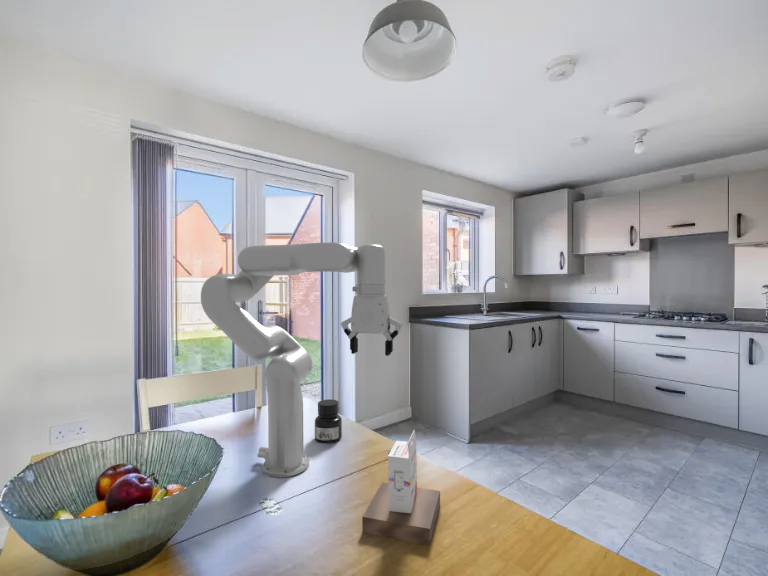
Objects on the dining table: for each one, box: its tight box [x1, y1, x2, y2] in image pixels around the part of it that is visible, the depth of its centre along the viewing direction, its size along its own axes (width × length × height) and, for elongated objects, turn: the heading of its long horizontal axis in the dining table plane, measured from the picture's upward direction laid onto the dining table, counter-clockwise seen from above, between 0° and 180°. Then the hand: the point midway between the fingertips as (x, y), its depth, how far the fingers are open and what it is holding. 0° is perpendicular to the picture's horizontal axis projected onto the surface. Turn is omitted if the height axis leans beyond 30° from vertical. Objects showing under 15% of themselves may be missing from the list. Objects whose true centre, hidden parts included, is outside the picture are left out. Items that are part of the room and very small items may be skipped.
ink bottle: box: [314, 399, 343, 444], centre depth 124 cm, size 10×9×12 cm
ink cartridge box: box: [387, 429, 418, 513], centre depth 82 cm, size 9×5×15 cm, turn 166°
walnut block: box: [361, 482, 441, 547], centre depth 82 cm, size 14×14×4 cm
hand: (371, 353), depth 102 cm, fingers open, 9 cm apart
